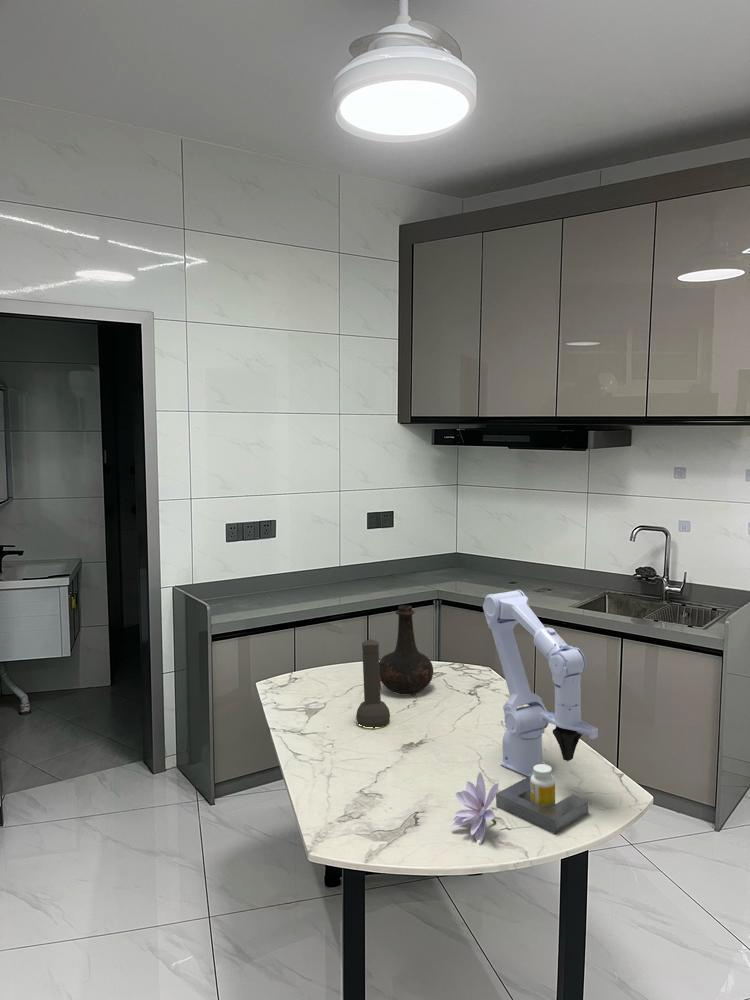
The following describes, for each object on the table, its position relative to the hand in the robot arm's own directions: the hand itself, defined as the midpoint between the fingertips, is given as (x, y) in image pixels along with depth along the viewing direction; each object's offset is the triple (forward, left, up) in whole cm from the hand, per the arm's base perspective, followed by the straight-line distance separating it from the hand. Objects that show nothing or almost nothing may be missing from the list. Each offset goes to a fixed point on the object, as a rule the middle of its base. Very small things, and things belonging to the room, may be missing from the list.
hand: (568, 759), depth 172 cm
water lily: (-5, -26, -9) cm, 28 cm away
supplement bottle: (0, -10, -9) cm, 13 cm away
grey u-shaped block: (0, -10, -8) cm, 13 cm away
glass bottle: (-77, +20, -9) cm, 80 cm away
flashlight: (-64, -5, -9) cm, 65 cm away
